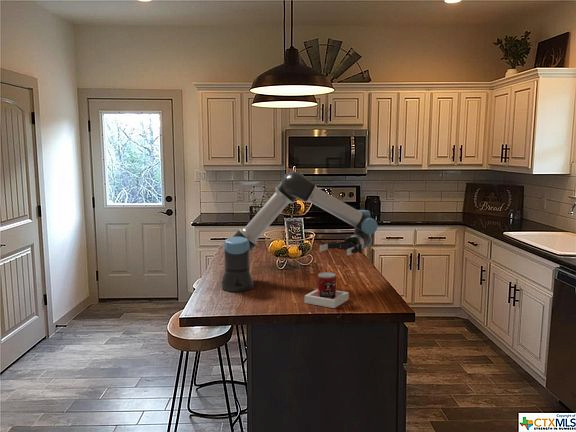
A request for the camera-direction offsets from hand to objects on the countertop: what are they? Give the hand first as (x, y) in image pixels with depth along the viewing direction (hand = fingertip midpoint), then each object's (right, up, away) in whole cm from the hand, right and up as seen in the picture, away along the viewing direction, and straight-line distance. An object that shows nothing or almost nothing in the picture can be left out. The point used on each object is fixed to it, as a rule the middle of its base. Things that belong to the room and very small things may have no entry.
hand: (333, 250), depth 210 cm
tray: (-4, -21, -9) cm, 23 cm away
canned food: (-4, -20, -9) cm, 23 cm away
